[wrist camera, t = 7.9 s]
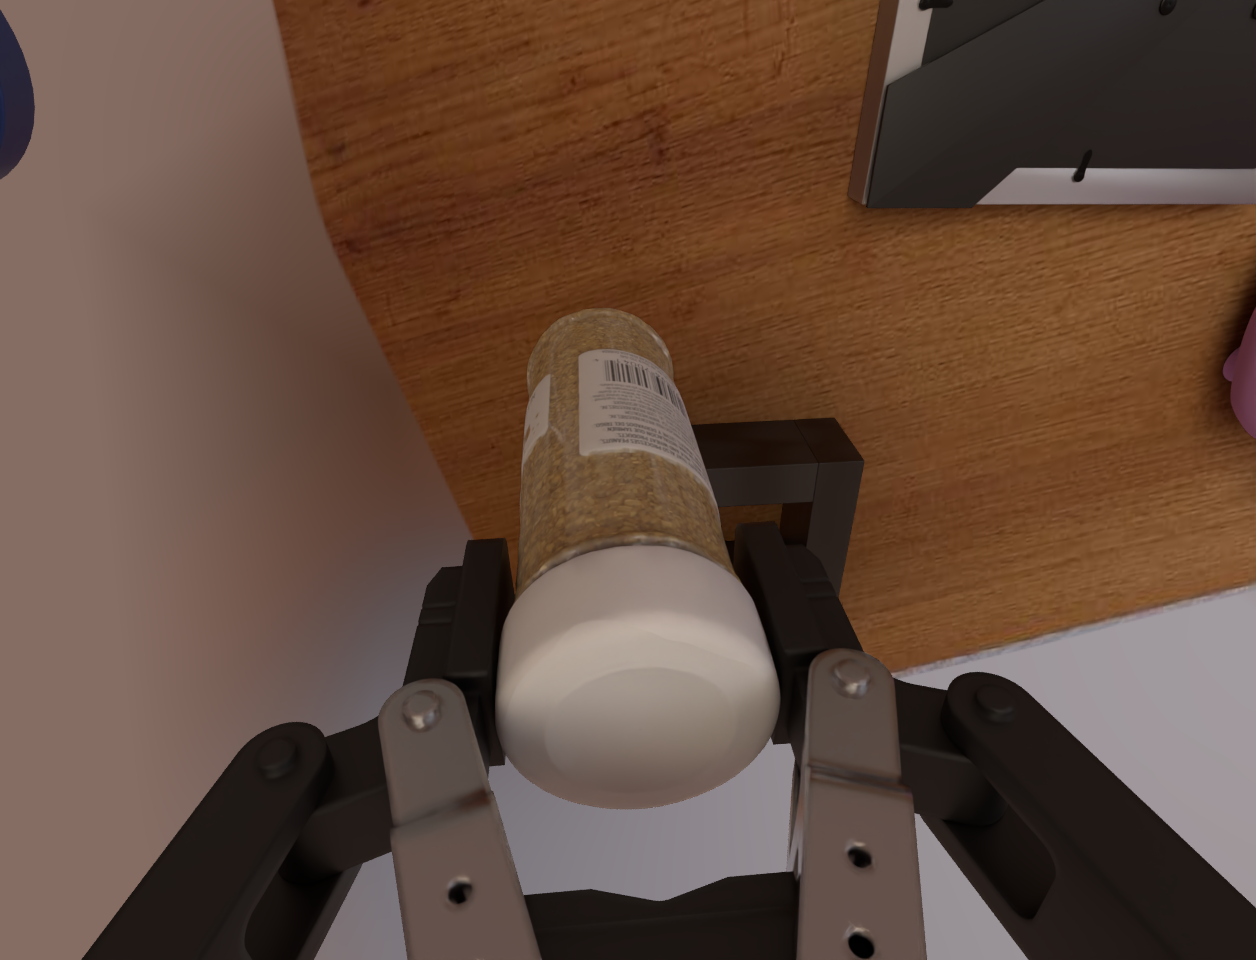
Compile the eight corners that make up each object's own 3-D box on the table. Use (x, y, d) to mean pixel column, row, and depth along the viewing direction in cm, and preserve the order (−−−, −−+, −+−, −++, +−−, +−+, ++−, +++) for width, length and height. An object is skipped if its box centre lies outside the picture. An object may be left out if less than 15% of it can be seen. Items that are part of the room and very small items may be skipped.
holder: (645, 667, 53) (653, 723, 48) (646, 426, 42) (656, 471, 38) (796, 656, 53) (816, 711, 49) (834, 417, 43) (865, 460, 39)
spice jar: (496, 370, 22) (425, 737, 11) (608, 270, 21) (661, 570, 9) (596, 463, 24) (625, 854, 13) (704, 378, 23) (844, 732, 11)
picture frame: (847, 195, 36) (1236, 195, 38) (867, 208, 34) (1281, 207, 35) (920, -241, 28) (1418, -217, 29) (955, -266, 25) (1495, -238, 27)
